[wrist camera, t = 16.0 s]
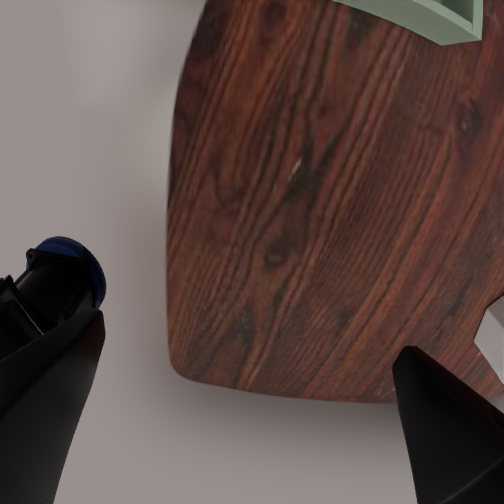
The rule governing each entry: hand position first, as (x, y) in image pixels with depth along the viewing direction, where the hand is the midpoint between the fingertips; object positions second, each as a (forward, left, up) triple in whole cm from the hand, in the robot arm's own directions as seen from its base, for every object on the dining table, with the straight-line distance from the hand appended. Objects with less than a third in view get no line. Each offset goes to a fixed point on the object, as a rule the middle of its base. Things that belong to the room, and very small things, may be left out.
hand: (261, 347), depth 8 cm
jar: (+30, -7, -13) cm, 34 cm away
